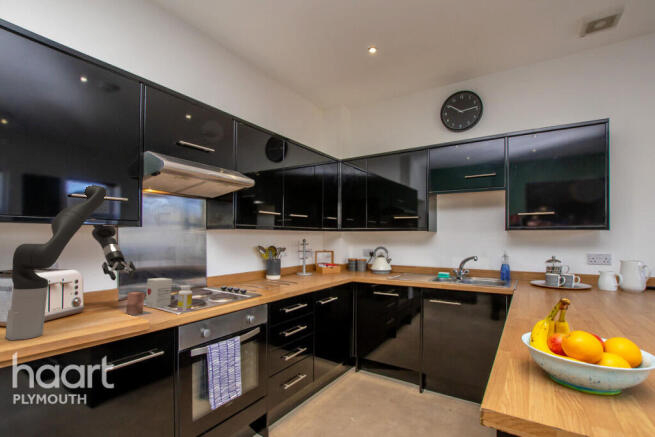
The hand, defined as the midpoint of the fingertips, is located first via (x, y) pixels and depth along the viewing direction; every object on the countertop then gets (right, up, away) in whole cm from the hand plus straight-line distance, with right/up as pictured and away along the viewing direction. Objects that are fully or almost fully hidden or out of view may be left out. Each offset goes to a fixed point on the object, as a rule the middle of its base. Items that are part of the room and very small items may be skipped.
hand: (123, 278), depth 158 cm
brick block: (+10, -15, -7) cm, 20 cm away
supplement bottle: (+29, -18, +4) cm, 34 cm away
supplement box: (+10, -18, +13) cm, 24 cm away
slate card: (+10, -16, -7) cm, 20 cm away
